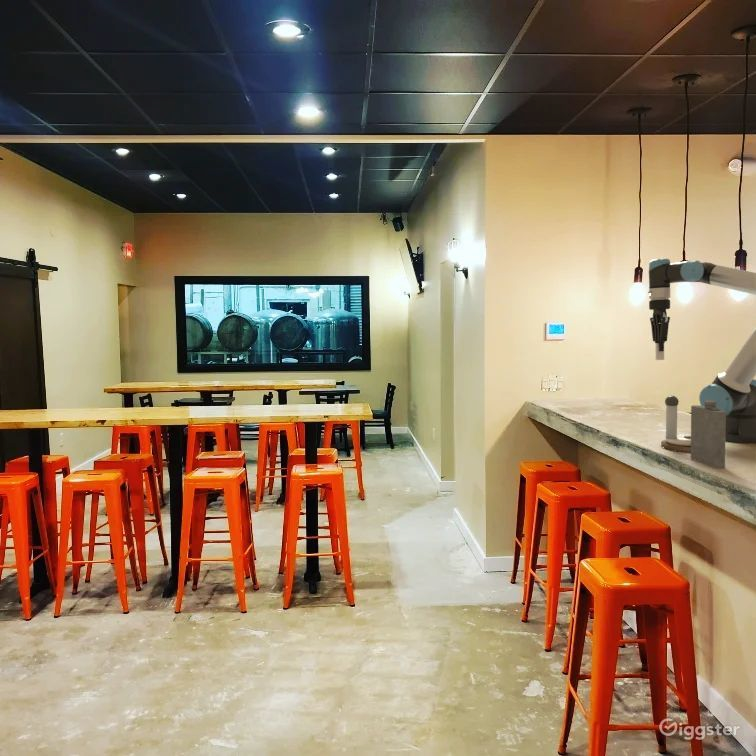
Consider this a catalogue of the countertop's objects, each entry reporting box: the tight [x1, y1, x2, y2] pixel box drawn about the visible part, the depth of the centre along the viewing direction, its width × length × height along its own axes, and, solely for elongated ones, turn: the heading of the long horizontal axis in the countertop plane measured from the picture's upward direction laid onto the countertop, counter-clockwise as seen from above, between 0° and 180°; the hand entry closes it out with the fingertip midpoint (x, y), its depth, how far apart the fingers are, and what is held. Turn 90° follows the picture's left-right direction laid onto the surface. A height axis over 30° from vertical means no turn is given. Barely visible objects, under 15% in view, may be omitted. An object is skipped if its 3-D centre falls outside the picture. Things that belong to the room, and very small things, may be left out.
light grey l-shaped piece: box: [664, 395, 691, 446], centre depth 223 cm, size 16×15×17 cm
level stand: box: [660, 439, 691, 453], centre depth 224 cm, size 18×18×5 cm
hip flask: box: [690, 401, 726, 469], centre depth 199 cm, size 16×4×20 cm, turn 3°
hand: (659, 359), depth 245 cm, fingers closed
